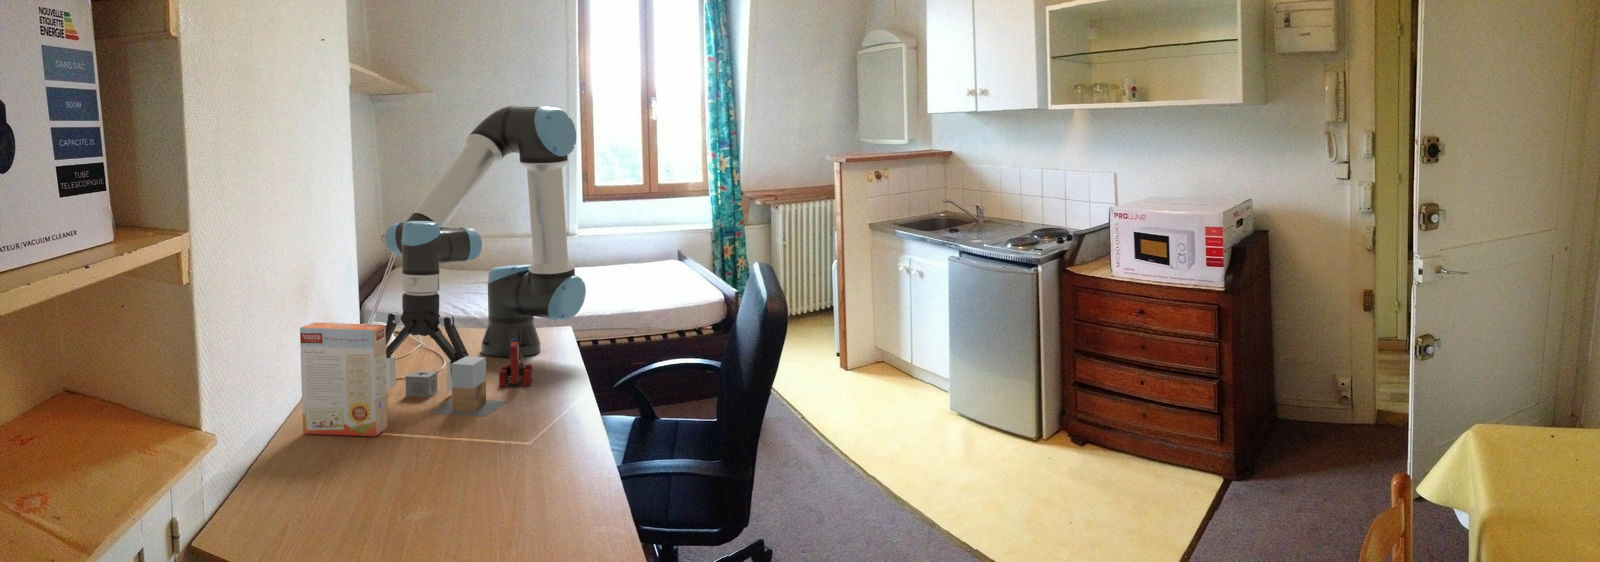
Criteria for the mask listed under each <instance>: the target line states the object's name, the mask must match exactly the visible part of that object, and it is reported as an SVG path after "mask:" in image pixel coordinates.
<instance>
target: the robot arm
mask: <svg viewBox="0 0 1600 562" xmlns="http://www.w3.org/2000/svg"><path fill="white" fill-rule="evenodd" d="M465 142H466V146H465V147H464V148H463V150H461V152H460V153H459V155H458V156H457V157H456V158H455V159H454V161H453V162H452V163H451V164H450V165H449V167H448V168H447V169H446V171H444V173H443V174H442V175H441V177H440V178H439V179H438V181H437V182H436V183H435V184H434V186H432V188H431V189H430V190H429V192H428V193H427V195H425V196H424V198H423V199H422V201H421V202H420V203H419V205H418V206H417V207H416V208H415V209H414V210H413V212H412V213H411V215H410V216H409V217H408V218H407V219H406V221H405V222H403V221H402V222H401V221H400V222H395V223H393V224H391V225H390V226H388V228H387V229H386V231H385V234H384V242H385V245H386V247H387V250H389V251H390V253H392V254H394V255H399V256H401V259H402V260H401V263H402V264H401V265H402V267H401V268H402V272H401V273H402V274H401V277H402V278H401V279H402V281H401V282H402V285H401V286H402V291H403V292H404V293H403V294H402V298H401V299H402V302H401V305H402V306H401V307H402V314H401V313H398V312H397V311H395V312H391V313H389V314H388V315H387V321H386V364H387V389H388V388H392V387H394V386H396V385H397V383H396V381H397V379H396V378H397V376H396V375H397V374H396V373H397V369H396V368H397V367H396V361H397V360H396V355H393V354H394V353H395V351H396V350H397V349H399V347H400V346H401V345H402V344H403V342H404V341H405V340H406V339H407V338H408V336H410V335H411V336H423V337H427V336H429V338H431V339H433V340H434V342H435V343H436V344H437V346H438V347H439V348H440V349H441V350H442V352H443V353H444V355H446V356H447V358H448V359H449V361H447V362H446V392H448V393H449V392H450V393H452V364H453V363H454V362H456V361H458V360H460V359H462V358H464V357H466V356H467V357H469V353H468V350H467V348H466V346H465V344H464V342H463V340H462V338H461V336H460V334H459V331H458V329H457V327H456V325H455V318H454V315H448V316H441V315H440V294H439V293H438V292H440V290H441V289H440V264H441V265H442V264H446V263H447V264H449V263H456V262H457V263H459V262H464V263H465V262H467V261H472V260H475V259H476V258H477V257H478V256H480V254H481V252H482V249H483V240H482V238H481V235H480V233H479V232H478V231H477V230H476V229H474V228H472V227H462V226H460V227H457V228H456V227H446V226H447V224H448V223H449V222H450V221H451V219H452V218H453V216H454V215H455V214H456V212H457V211H458V210H459V209H460V208H461V206H462V205H463V203H464V202H465V201H466V200H467V198H468V197H469V196H470V195H471V193H472V192H473V191H474V190H475V188H476V187H477V185H479V183H480V181H481V180H482V179H483V177H484V176H485V175H486V174H487V172H488V171H489V170H490V169H491V167H493V165H494V164H495V165H496V164H499V163H500V162H502V160H503V158H505V156H508V155H509V154H513V153H516V154H517V153H518V154H519V155H518V156H519V163H520V164H521V165H522V166H523V167H524V168H525V169H526V174H527V175H526V176H527V188H528V190H527V191H528V203H529V205H528V206H529V216H530V217H529V218H530V229H531V230H530V232H531V244H532V256H533V262H532V264H531V263H530V264H528V263H527V264H513V265H503V266H502V265H501V266H497V267H492V268H491V269H490V270H489V271H488V277H487V278H488V281H487V309H488V310H487V314H488V315H487V316H488V319H487V320H488V321H487V327H486V330H485V332H484V335H483V338H482V341H481V345H480V346H481V347H480V348H481V353H482V354H483V355H486V356H490V357H498V358H500V357H501V358H509V356H510V347H511V345H510V342H511V340H512V339H514V338H516V339H518V340H519V352H520V354H521V355H522V357H528V356H533V355H536V354H538V353H540V352H541V344H542V343H541V341H540V337H539V334H538V331H537V328H536V325H535V317H539V318H542V319H543V318H544V319H549V320H553V321H557V320H560V321H561V320H562V321H567V320H570V319H572V318H574V317H575V316H576V315H578V314H579V312H580V310H581V308H582V307H583V306H584V305H583V304H584V303H585V299H586V293H587V292H586V283H585V281H583V279H582V278H581V277H580V276H578V275H576V272H575V265H574V263H573V262H571V261H570V260H569V253H568V241H567V239H568V237H567V222H566V209H565V206H566V205H565V192H564V176H563V168H564V166H565V165H566V164H567V162H568V161H569V158H568V157H569V156H568V155H570V154H571V153H572V152H573V151H574V150H575V146H576V144H577V130H576V125H575V123H574V121H573V119H572V118H571V116H570V115H568V113H567V112H566V111H565V110H563V109H561V108H558V107H552V106H551V107H550V106H545V105H543V106H540V105H539V106H533V105H532V106H528V105H527V106H523V105H508V106H504V107H502V108H500V109H497V110H495V111H493V112H492V113H490V114H489V115H488V116H487V117H486V118H484V119H483V120H482V121H481V122H480V123H479V124H478V125H476V127H475V128H474V129H472V131H471V132H470V133H469V134H468V136H467V138H466V141H465ZM400 322H402V324H403V325H404V327H403V328H401V330H400V331H399V333H398V334H397V335H396V337H395V338H394V339H393V340H392V341H391V342H390V339H391V337H392V335H393V334H394V332H395V329H396V328H397V326H398V324H399V323H400ZM440 324H441V326H442V327H443V328H444V330H445V332H446V334H447V336H448V338H449V340H450V342H449V340H448V339H447V338H446V336H445V335H444V334H443V331H442V329H440V327H439V325H440ZM389 342H390V343H389ZM388 344H389V345H388ZM387 345H388V346H387Z"/></svg>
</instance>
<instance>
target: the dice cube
mask: <svg viewBox="0 0 1600 562" xmlns="http://www.w3.org/2000/svg"><path fill="white" fill-rule="evenodd" d="M436 393H438V371H425V370H424V371H421V370H414V371H412V372H410V373H408V374H407V375H406V376H405V397H406V398H426V399H427V398H428V399H429V398H431V397H432V396H434V395H435V394H436Z"/></svg>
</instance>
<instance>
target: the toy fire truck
mask: <svg viewBox="0 0 1600 562" xmlns="http://www.w3.org/2000/svg"><path fill="white" fill-rule="evenodd" d="M510 345H511V347H510V356H509V357H508V359H509V363H508V365H507V364H502V365H501V369H500V370H499V375H498V380H499V381H498V383H499V388H505V387H507V385H508V382H511V384H512V385H515V384H519V383H520V382H522V383H523V385H522V386H523V387H524V388H525V387H531V384H532V383H531V382H532V381H533V366H532V364H525V365H524V363H523V362H522V361H523V356H522V355H521V354H520V352H519V340H518V339H516V338H514V339H512V340H511V342H510Z"/></svg>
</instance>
